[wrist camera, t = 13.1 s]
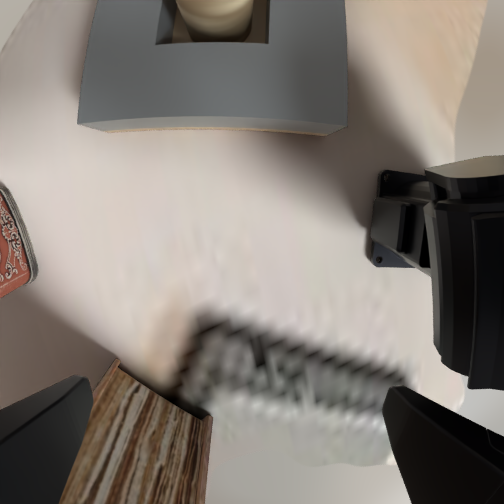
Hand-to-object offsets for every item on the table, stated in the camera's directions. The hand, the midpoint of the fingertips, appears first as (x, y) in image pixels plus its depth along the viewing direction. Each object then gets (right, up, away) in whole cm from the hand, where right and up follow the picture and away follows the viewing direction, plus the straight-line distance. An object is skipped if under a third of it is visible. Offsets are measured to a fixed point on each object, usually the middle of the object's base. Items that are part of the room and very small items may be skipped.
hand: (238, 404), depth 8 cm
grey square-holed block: (-2, +19, +9) cm, 21 cm away
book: (-14, -16, +17) cm, 27 cm away
